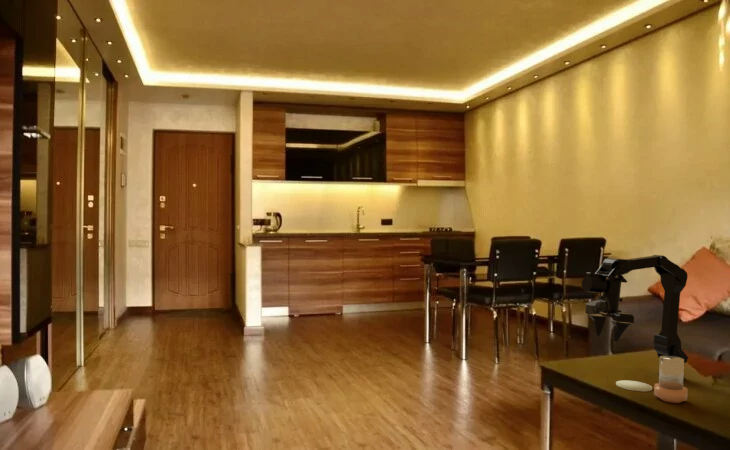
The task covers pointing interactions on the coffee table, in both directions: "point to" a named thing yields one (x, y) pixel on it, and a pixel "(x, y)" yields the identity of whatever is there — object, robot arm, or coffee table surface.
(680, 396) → the bowl
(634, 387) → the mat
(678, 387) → the frosted glass jar
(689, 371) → the coffee table surface
